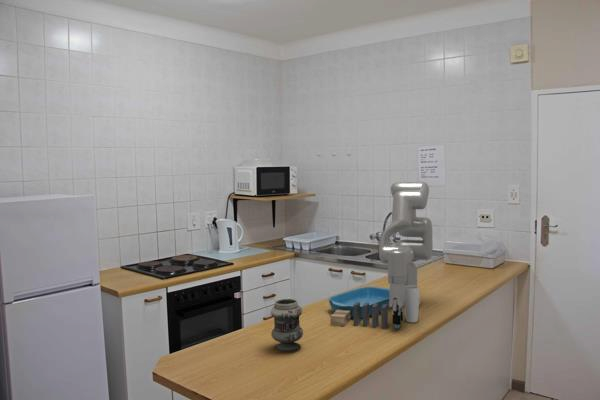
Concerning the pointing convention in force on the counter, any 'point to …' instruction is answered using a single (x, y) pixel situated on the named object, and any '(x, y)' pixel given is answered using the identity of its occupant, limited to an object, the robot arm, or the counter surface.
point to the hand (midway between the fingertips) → (397, 321)
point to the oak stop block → (340, 317)
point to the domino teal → (400, 324)
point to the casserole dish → (360, 299)
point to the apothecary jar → (286, 325)
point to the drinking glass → (411, 302)
